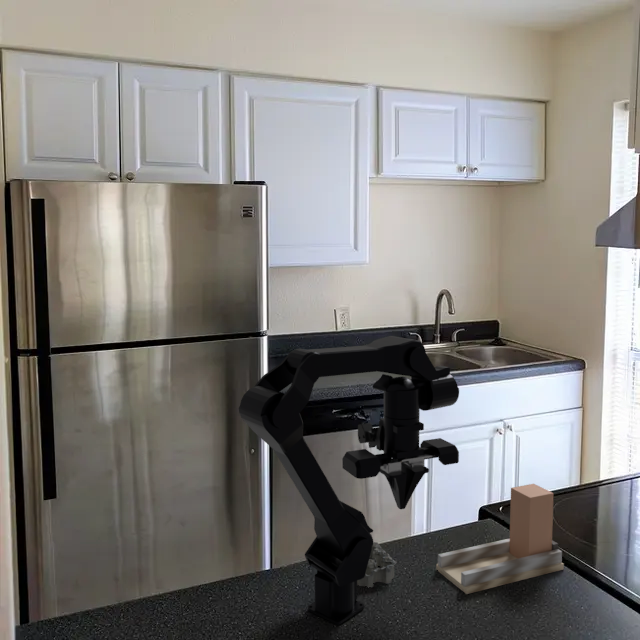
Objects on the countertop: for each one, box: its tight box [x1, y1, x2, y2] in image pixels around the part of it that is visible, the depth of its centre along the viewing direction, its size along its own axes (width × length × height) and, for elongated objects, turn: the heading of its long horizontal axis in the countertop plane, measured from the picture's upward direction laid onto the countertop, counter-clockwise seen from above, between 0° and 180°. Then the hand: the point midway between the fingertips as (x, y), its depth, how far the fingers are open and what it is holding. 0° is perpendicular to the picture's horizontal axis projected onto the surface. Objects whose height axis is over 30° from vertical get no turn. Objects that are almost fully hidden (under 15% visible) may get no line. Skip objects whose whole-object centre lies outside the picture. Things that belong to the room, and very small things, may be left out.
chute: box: [435, 537, 565, 595], centre depth 114 cm, size 20×9×4 cm, turn 113°
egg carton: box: [357, 541, 398, 589], centre depth 114 cm, size 11×8×4 cm
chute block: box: [509, 483, 554, 559], centre depth 116 cm, size 5×5×12 cm
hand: (401, 508), depth 109 cm, fingers closed
